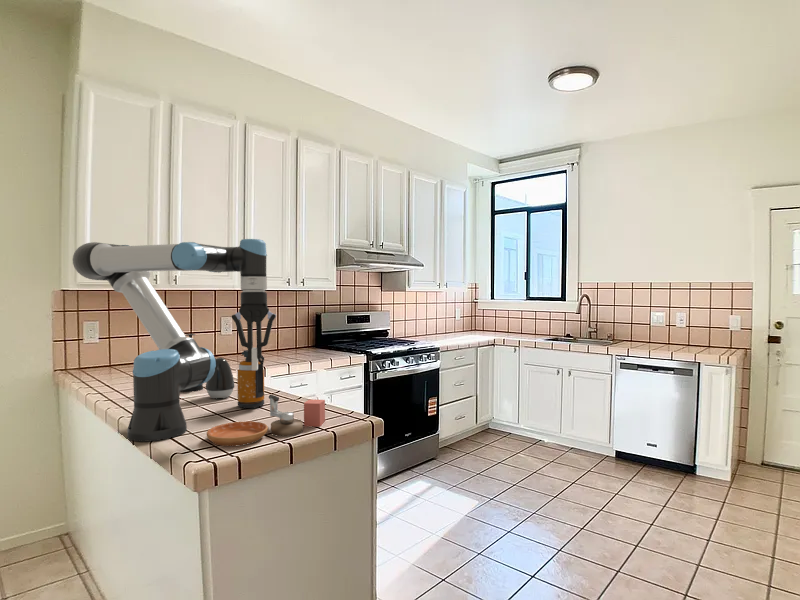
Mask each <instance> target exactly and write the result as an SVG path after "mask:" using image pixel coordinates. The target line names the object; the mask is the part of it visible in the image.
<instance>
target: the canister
mask: <svg viewBox="0 0 800 600" xmlns="http://www.w3.org/2000/svg"><path fill="white" fill-rule="evenodd" d="M241 355H242V356H243V357H244V358H245V359H244V360H242V361H241V360H240V362H239V364H238V370H236V371H237V373H236V374H237V407H239V408H242V407H243V408H242V409H246V408H251V409H255V408H254V407H257V408H260V407H261V406H264V405H265V370H264V361H265V357H264V356H263V355H262V357H261V359H258V370H253V371H252V359H248V349H246V350H243V351H242V352H241ZM259 406H260V407H259Z"/></svg>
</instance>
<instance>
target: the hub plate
mask: <svg viewBox="0 0 800 600" xmlns="http://www.w3.org/2000/svg"><path fill="white" fill-rule="evenodd" d="M303 429H304V420H301V419H298V418H294V422H293V423H290V424H281V423H280V419H277V420H274V421H272V422H271V423H270V434H271V435H272V434H273V436H275V435H277V436H276V437H291V436H297V435H299V434H301V433H303Z"/></svg>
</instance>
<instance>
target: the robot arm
mask: <svg viewBox="0 0 800 600" xmlns="http://www.w3.org/2000/svg"><path fill="white" fill-rule="evenodd" d="M266 245H267V244H266V241H264V240H263V239H260V238H259V239H258V238H245V239H244V238H243V239H240V241H239V246H218V245H211V244H203V243H198V242H194V241H187V242H186V241H183V242H180V243H172V244H170V243H168V244H165V243H164V244H148V245H147V244H145V245H144V244H143V245H141V244H140V245H128V244H114V243H113V244H112V243H104V242H96V241H94V242H93V241H92V242H87V243H84V244H82V245H80V246H78V247H77V248H76V249H75V251H74V252H73V255H72V265H73V267H74V269H75V271H76V272H77V274H79V275H81V276H82V277H84V278H86V279H89V280H93V281H107V282H108V283H109V284H110V286H111V287H112V289H113V291H114V292H117V293H121V294H122V295H123V297H124V298H125V300H126V301H127V302H128V304H129V305H130V307H131V309H132V310H133V311H134V314H135V315H136V316H137V319H139V321H140V322H141V324H142V325H143V328H144V329H145V330H146V332H147V333H148V334H149V335H150V338H151V339H152V341H153V342H154V343H155V345H156V347H157V348H158V349H157V350H150V351H146V352H143V353H140V354H139V355H137V356H136V357H135V358H134V360H133V369H132V379H133V385H132V386H133V411H132V414H131V417H130V420H129V422H128V427H127V429H126V437H127V439H128V440H130V441H133V442H154V441H161V440H160V439H163V440H168V439H171V437H172V438H174V437H179V436H180V435H183V434H184V433H186V432H187V429H188V428H187V420H186V418H185V415H184V413H183V410H182V408H181V407H182V406H181V403H180V393H181V392H180V391H181V390H185V389H188V388H192V387H197V386H200V385H201V384H203V385H204V384H206V382H207V381H209V380H210V379H211V378H212V376H213V374H214V372H215V367H216V361H215V359H216V358H215V355H214V353H212V351H211V350H210V349H208V348H205V347H203V346H201V347H200V346H199V345H198V343H197V342H196V340H195V339H194V338H193V337H192V338H189V336H185V335H186V333H185V332H184V331H183V330H182V328H181V327H180V324H178V322H177V321H176V319H175V317H174V316H173V314H172V313H171V312H170V310H169V308H168V307H167V305H166V304H165V303H164V301H163V300H162V298H161V296H160V295H159V294H158V292H157V291H156V289H155V288H154V286H153V284H152V283H151V281H150V280H149V279H150V277H151V272H175V271H176V272H178V271H183V272H184V271H185V272H186V271H188V272H189V271H200V272H201V271H204V272H210V273H218V274H219V273H233V272H239V273H240V290H241V291H242V292H241V293H240V308H239V310H238V312H236V313H235V314H232V315H231V319H232V320H233V321H234V323H235V326H236V327H235V328H236V331H237V335H238V338H239V341H240V345H241V347H243V348H247V350H248V359H252V371H253V370H258V359H261V357H262V356H263V353H262V351H263V349H262V348H263V347H265V346H267V345H268V344H269V339H270V335H271V331H272V327H273V323H274V320H275V319H276V317H277V314H276V313H273V312H271V310H270V308H269V307H268V292H267V290H268V281H267V280H268V276H267V256H268V255H267V246H266ZM266 316H267V319H268V321H267V325H266V329H265V333H264V337H263V338H262V336H263V335H262V321H263V320H264V319H265V318H266ZM242 318H243V319H244V320H245V321H246V328H247V330H246V331H247V336H245V332H244V329H243V325H242V321H241V319H242ZM254 323H255V326H256V327H255V329H256V332H255V334H256V347H254V345H253V343H254V338H253V336H254V335H253V333H254V331H253V328H254V327H253V325H254ZM246 337H247V341H246ZM262 339H263V341H262ZM167 438H168V439H167Z"/></svg>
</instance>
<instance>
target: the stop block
mask: <svg viewBox="0 0 800 600" xmlns="http://www.w3.org/2000/svg"><path fill="white" fill-rule="evenodd" d="M324 422H325V423H326V400H325V399H314V398H313V399H308V400H306V401H305V402H304V403H303V427H312V426H313V427H315V428H318V427H321V426H323V425H324V424H325V423H324ZM323 423H324V424H323ZM322 424H323V425H322ZM313 427H312V428H313Z"/></svg>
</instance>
